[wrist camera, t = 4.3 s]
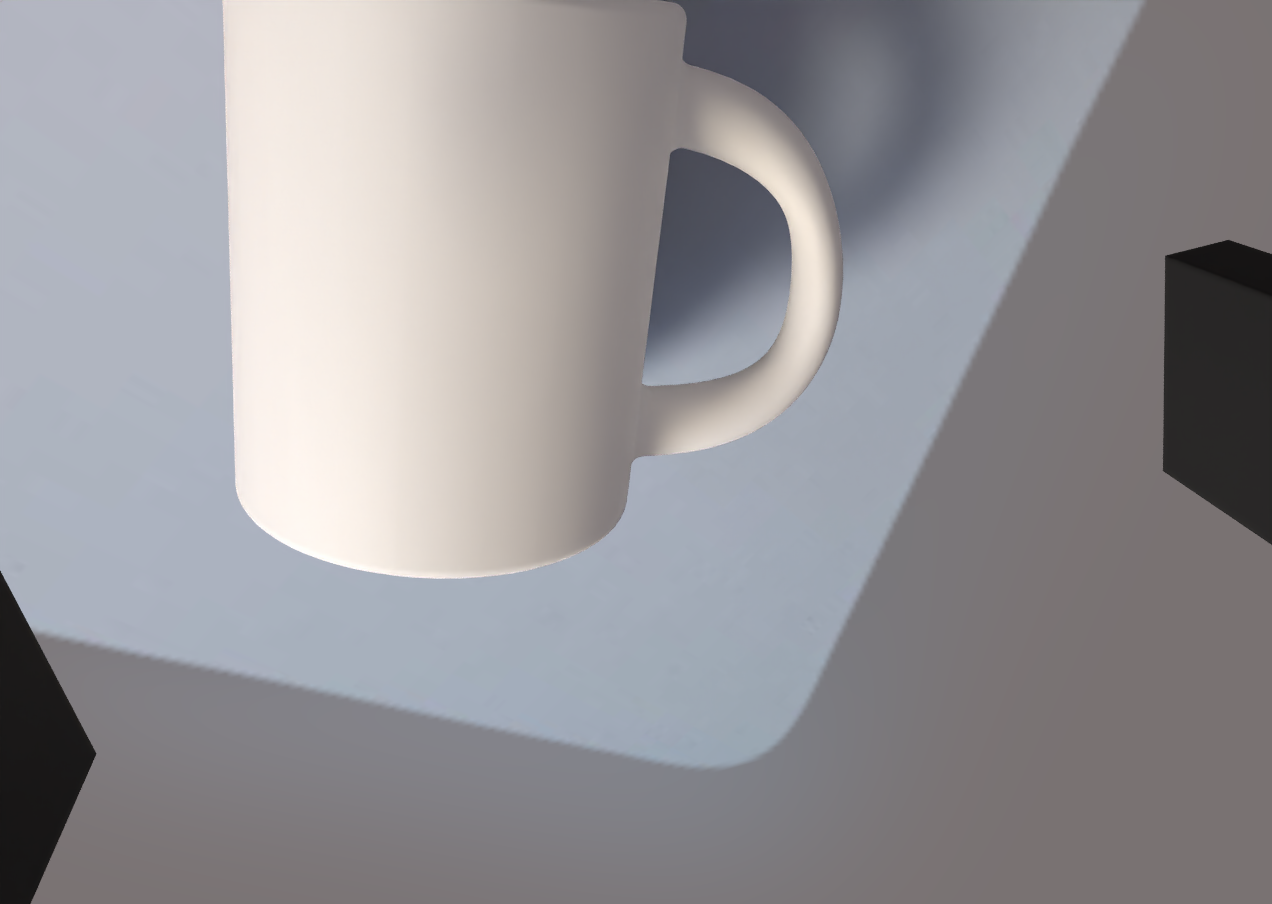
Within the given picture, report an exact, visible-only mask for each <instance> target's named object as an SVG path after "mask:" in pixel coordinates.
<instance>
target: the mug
mask: <svg viewBox="0 0 1272 904" xmlns="http://www.w3.org/2000/svg"><path fill="white" fill-rule="evenodd" d="M686 23H687V18H686V13H685V11H684V10H683V8H682V7H681V6H680V5H678V4H676V3H673V2H667V1H660V0H223V28H224V66H225V103H226V141H227V178H228V216H229V253H230V291H231V328H232V366H233V403H234V440H235V478H236V490H237V495H238V498H239V500H240V502H241V504H242V506H243V508H244V510H245V511H246V512H247V514H248V515H249V516H250V518H251V519H252V520H253V521H254V522H255V523H256V524H257V525H258V526H259V527H261V528H262V529H263V530H264V531H265V532H267V533H268V534H270V535H271V536H273V537H274V538H276V539H277V540H279V541H280V542H282V543H284V544H286V545H288V546H290V547H292V548H294V549H296V550H298V551H300V552H303V553H305V554H307V555H310V556H313V557H316V558H318V559H321V560H324V561H327V562H331V563H334V564H337V565H341V566H345V567H349V568H353V569H358V570H363V571H368V572H374V573H380V574H387V575H394V576H404V577H415V578H476V577H487V576H496V575H503V574H510V573H516V572H521V571H526V570H531V569H535V568H539V567H542V566H546V565H549V564H552V563H556V562H559V561H562V560H564V559H567V558H569V557H571V556H574V555H576V554H578V553H580V552H582V551H584V550H586V549H588V548H589V547H591V546H592V545H594V544H596V543H597V542H599V541H600V540H601V539H602V538H604V537H605V536H606V535H607V534H608V533H609V532H610V531H611V530H612V529H613V528H614V527H615V525H616V524H617V523H618V521H619V520H620V518H621V516H622V514H623V512H624V510H625V506H626V502H627V495H628V487H629V479H630V471H631V464H632V462H633V461H634V460H635V459H636V458H638V457H641V456H655V455H668V454H676V453H685V452H692V451H698V450H703V449H707V448H711V447H715V446H719V445H722V444H725V443H728V442H731V441H734V440H737V439H739V438H741V437H744V436H746V435H748V434H750V433H752V432H754V431H756V430H758V429H760V428H761V427H763V426H765V425H766V424H768V423H769V422H771V421H772V420H774V419H775V418H776V417H778V416H779V415H780V414H781V413H783V412H784V411H785V410H786V409H787V408H788V407H789V406H790V405H791V404H792V403H793V402H794V401H795V400H796V399H797V398H798V397H799V396H800V395H801V394H802V393H803V391H804V390H805V389H806V387H807V386H808V385H809V383H810V382H811V381H812V379H813V378H814V376H815V374H816V373H817V371H818V369H819V368H820V366H821V364H822V362H823V360H824V358H825V356H826V354H827V352H828V349H829V347H830V344H831V341H832V339H833V336H834V332H835V329H836V325H837V321H838V316H839V311H840V305H841V297H842V285H843V255H842V242H841V234H840V228H839V222H838V217H837V212H836V208H835V204H834V200H833V197H832V193H831V190H830V187H829V184H828V182H827V179H826V176H825V174H824V171H823V169H822V167H821V165H820V163H819V160H818V158H817V157H816V155H815V153H814V151H813V149H812V148H811V146H810V144H809V143H808V141H807V140H806V138H805V137H804V135H803V134H802V133H801V131H800V130H799V129H798V127H797V126H796V125H795V124H794V123H793V122H792V120H791V119H790V118H789V117H788V116H787V115H786V114H785V113H784V112H783V111H782V110H781V109H779V108H778V107H777V106H776V105H775V104H773V103H772V102H771V101H770V100H768V99H767V98H766V97H764V96H763V95H761V94H760V93H758V92H757V91H755V90H753V89H752V88H750V87H748V86H746V85H744V84H742V83H740V82H737V81H735V80H733V79H731V78H729V77H726V76H723V75H721V74H718V73H715V72H712V71H709V70H707V69H703V68H699V67H695V66H692V65H688V64H687V63H685V62H684V61H683V59H682V55H683V47H684V39H685V31H686ZM678 148H685V149H689V150H692V151H696V152H699V153H703V154H706V155H709V156H711V157H714V158H717V159H719V160H722V161H724V162H726V163H728V164H730V165H733V166H735V167H737V168H739V169H740V170H742V171H744V172H745V173H747V174H749V175H750V176H752V177H753V178H754V179H756V180H757V181H758V182H760V183H761V184H762V185H763V186H764V187H765V188H766V189H767V190H768V191H769V192H770V193H771V194H772V195H773V196H774V197H775V199H776V200H777V201H778V203H779V204H780V206H781V208H782V210H783V212H784V214H785V216H786V219H787V222H788V226H789V230H790V237H791V247H792V273H791V285H790V294H789V300H788V306H787V310H786V315H785V318H784V321H783V324H782V327H781V330H780V332H779V334H778V336H777V338H776V340H775V342H774V344H773V345H772V347H771V348H770V349H769V350H768V352H767V353H766V354H765V355H764V356H763V357H762V358H761V359H760V360H758V361H757V362H756V363H754V364H753V365H751V366H749V367H748V368H746V369H744V370H742V371H739V372H737V373H734V374H731V375H728V376H725V377H722V378H718V379H713V380H709V381H703V382H697V383H689V384H678V385H660V386H646V385H644V384H642V375H643V367H644V359H645V351H646V343H647V335H648V327H649V319H650V311H651V303H652V295H653V287H654V279H655V271H656V263H657V255H658V247H659V239H660V231H661V223H662V215H663V207H664V199H665V191H666V183H667V175H668V167H669V159H670V154H671V152H672V151H674V150H675V149H678Z"/></svg>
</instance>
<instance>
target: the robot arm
mask: <svg viewBox="0 0 1272 904" xmlns="http://www.w3.org/2000/svg"><path fill="white" fill-rule="evenodd" d="M1164 343H1165V346H1164V438H1163V445H1164V447H1163V471H1164V472H1165V473H1167V474H1169V475H1170V476H1171V477H1173V478H1174V479H1176V480H1177V481H1179V482H1180V483H1182V484H1183V485H1185V486H1186V487H1187V488H1189V489H1190V490H1192V491H1194V492H1195V493H1196V494H1198V495H1199V496H1201V497H1202V498H1204V499H1205V500H1207V501H1208V502H1210V503H1211V504H1213V505H1214V506H1215V507H1217V508H1218V509H1220V510H1222V511H1223V512H1224V513H1226V514H1228V515H1229V516H1230V517H1232V518H1233V519H1235V520H1236V521H1238V522H1239V523H1241V524H1242V525H1244V526H1245V527H1246V528H1248V529H1249V530H1251V531H1253V532H1254V533H1255V534H1257V535H1258V536H1260V537H1261V538H1263V539H1264V540H1266V541H1267V542H1269V543H1270V544H1272V254H1270V253H1266V252H1263V251H1260V250H1257V249H1254V248H1251V247H1248V246H1245V245H1242V244H1239V243H1236V242H1233V241H1230V240H1226V241H1223V242H1218V243H1214V244H1210V245H1207V246H1203V247H1199V248H1195V249H1191V250H1187V251H1183V252H1179V253H1175V254H1171V255H1167V256H1165V342H1164ZM95 756H96V752H95V750H94V748H93V746H92V745H91V742H90V741H89V739H88V737H87V735H86V733H85V731H84V729H83V727H82V726H81V723H80V722H79V720H78V718H77V716H76V714H75V712H74V710H73V708H72V706H71V704H70V703H69V701H68V699H67V697H66V695H65V693H64V691H63V689H62V687H61V685H60V684H59V682H58V680H57V678H56V676H55V674H54V672H53V670H52V669H51V666H50V664H49V663H48V661H47V659H46V657H45V655H44V653H43V651H42V650H41V647H40V645H39V644H38V642H37V640H36V638H35V636H34V634H33V632H32V630H31V628H30V626H29V624H28V623H27V621H26V619H25V617H24V615H23V613H22V611H21V609H20V607H19V605H18V604H17V602H16V600H15V598H14V596H13V594H12V592H11V590H10V588H9V586H8V585H7V583H6V581H5V579H4V577H3V575H2V573H1V571H0V904H30V903H31V901H32V899H33V897H34V895H35V892H36V890H37V888H38V885H39V883H40V881H41V878H42V876H43V874H44V871H45V869H46V867H47V865H48V863H49V860H50V858H51V856H52V853H53V851H54V849H55V846H56V844H57V842H58V840H59V837H60V835H61V833H62V831H63V829H64V826H65V824H66V822H67V819H68V817H69V815H70V812H71V810H72V808H73V806H74V804H75V801H76V799H77V796H78V794H79V792H80V790H81V788H82V785H83V783H84V781H85V779H86V776H87V774H88V772H89V769H90V767H91V765H92V763H93V760H94V758H95Z"/></svg>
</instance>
